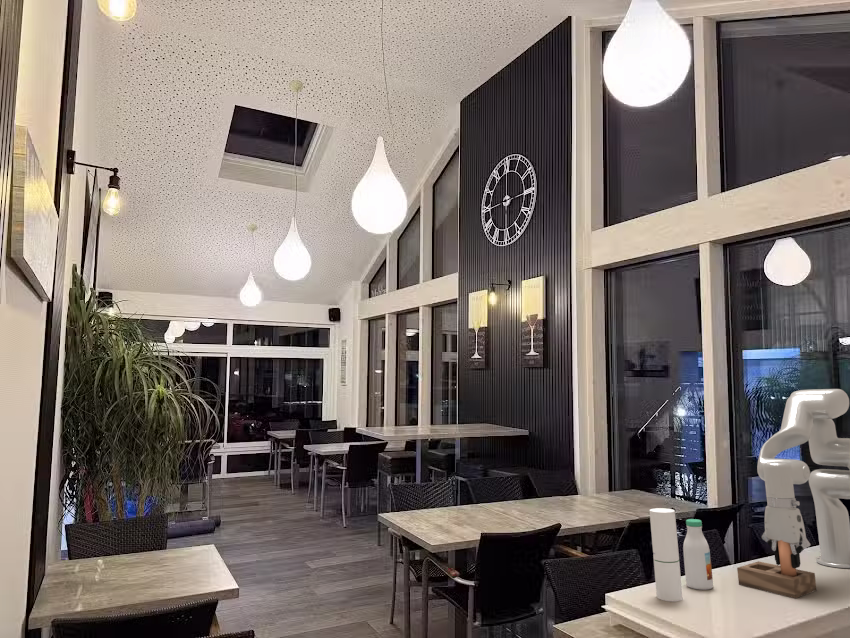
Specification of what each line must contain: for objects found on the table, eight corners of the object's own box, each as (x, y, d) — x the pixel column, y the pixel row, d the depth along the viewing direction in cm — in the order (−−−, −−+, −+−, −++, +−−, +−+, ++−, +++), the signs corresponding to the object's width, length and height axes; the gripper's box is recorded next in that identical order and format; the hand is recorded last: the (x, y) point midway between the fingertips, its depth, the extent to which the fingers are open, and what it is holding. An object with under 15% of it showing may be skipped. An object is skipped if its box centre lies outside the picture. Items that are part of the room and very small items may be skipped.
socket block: (760, 577, 194) (758, 561, 195) (816, 590, 180) (814, 572, 180) (738, 584, 188) (737, 567, 189) (795, 598, 173) (793, 580, 174)
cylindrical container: (678, 593, 181) (670, 508, 185) (685, 601, 174) (678, 512, 178) (653, 593, 182) (646, 508, 185) (660, 601, 175) (653, 512, 178)
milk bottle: (702, 591, 182) (695, 523, 185) (680, 585, 189) (675, 519, 192) (718, 587, 186) (712, 520, 188) (697, 581, 192) (691, 516, 195)
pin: (786, 575, 183) (781, 534, 185) (799, 578, 180) (795, 537, 182) (778, 578, 181) (774, 536, 183) (792, 581, 178) (787, 538, 180)
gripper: (816, 505, 179) (824, 569, 176) (761, 498, 193) (767, 558, 190) (803, 508, 175) (811, 574, 172) (747, 501, 189) (753, 562, 186)
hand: (787, 565), depth 181 cm, fingers closed on pin, 4 cm apart
